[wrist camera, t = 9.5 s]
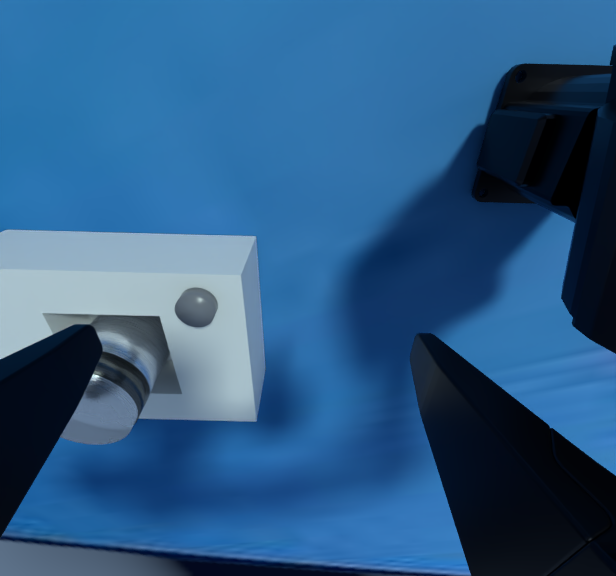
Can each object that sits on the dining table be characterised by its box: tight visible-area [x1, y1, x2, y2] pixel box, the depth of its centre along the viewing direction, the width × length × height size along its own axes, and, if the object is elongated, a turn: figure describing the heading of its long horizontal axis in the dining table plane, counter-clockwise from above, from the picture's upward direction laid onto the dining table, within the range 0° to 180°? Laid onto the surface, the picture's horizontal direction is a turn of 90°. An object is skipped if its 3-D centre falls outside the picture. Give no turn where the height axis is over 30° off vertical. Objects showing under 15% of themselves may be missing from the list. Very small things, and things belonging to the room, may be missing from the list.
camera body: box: [0, 230, 266, 422], centre depth 21 cm, size 16×12×6 cm
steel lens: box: [60, 315, 170, 444], centre depth 18 cm, size 5×5×7 cm
